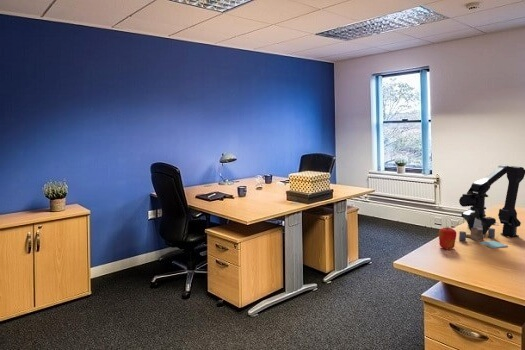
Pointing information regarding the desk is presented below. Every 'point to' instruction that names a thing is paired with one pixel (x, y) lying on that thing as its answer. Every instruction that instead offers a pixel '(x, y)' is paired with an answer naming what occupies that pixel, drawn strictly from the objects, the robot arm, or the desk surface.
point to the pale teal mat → (493, 244)
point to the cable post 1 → (462, 236)
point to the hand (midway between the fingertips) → (477, 232)
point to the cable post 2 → (491, 233)
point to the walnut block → (477, 234)
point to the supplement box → (477, 222)
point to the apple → (447, 238)
